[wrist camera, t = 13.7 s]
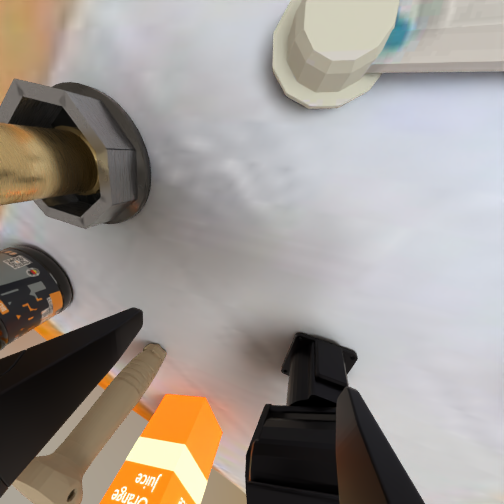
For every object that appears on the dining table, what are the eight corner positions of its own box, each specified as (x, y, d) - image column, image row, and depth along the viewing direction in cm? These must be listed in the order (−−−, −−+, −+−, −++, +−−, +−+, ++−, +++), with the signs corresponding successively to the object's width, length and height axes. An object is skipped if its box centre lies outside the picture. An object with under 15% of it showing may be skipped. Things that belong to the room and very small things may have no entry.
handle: (149, 363, 32) (37, 508, 19) (136, 331, 30) (-2, 471, 17) (177, 368, 31) (78, 527, 18) (166, 335, 29) (41, 490, 15)
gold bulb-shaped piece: (124, 186, 20) (-24, 209, 11) (83, 197, 22) (-74, 226, 13) (96, 119, 18) (-111, 83, 9) (52, 138, 20) (-157, 122, 11)
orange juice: (184, 427, 38) (73, 667, 20) (165, 393, 35) (14, 640, 17) (223, 432, 35) (137, 712, 17) (206, 397, 32) (80, 691, 14)
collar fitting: (151, 235, 22) (123, 249, 19) (56, 205, 24) (15, 212, 21) (150, 100, 17) (111, 87, 14) (29, 72, 19) (-33, 54, 15)
